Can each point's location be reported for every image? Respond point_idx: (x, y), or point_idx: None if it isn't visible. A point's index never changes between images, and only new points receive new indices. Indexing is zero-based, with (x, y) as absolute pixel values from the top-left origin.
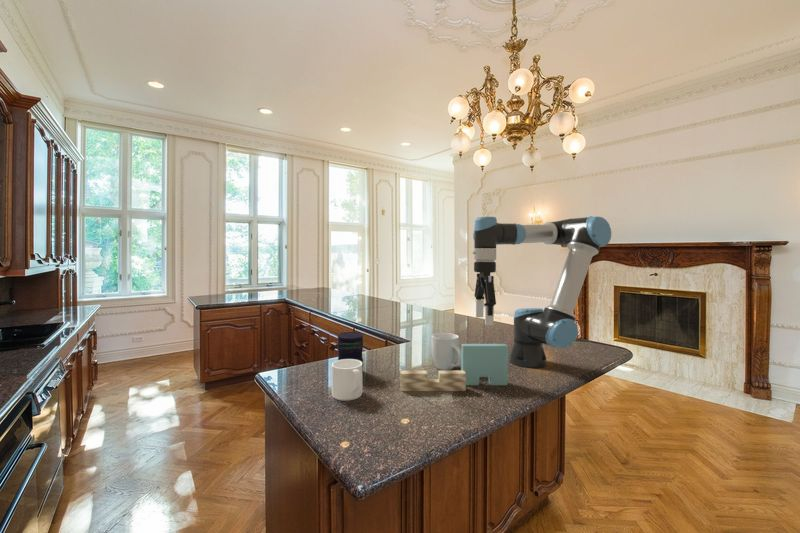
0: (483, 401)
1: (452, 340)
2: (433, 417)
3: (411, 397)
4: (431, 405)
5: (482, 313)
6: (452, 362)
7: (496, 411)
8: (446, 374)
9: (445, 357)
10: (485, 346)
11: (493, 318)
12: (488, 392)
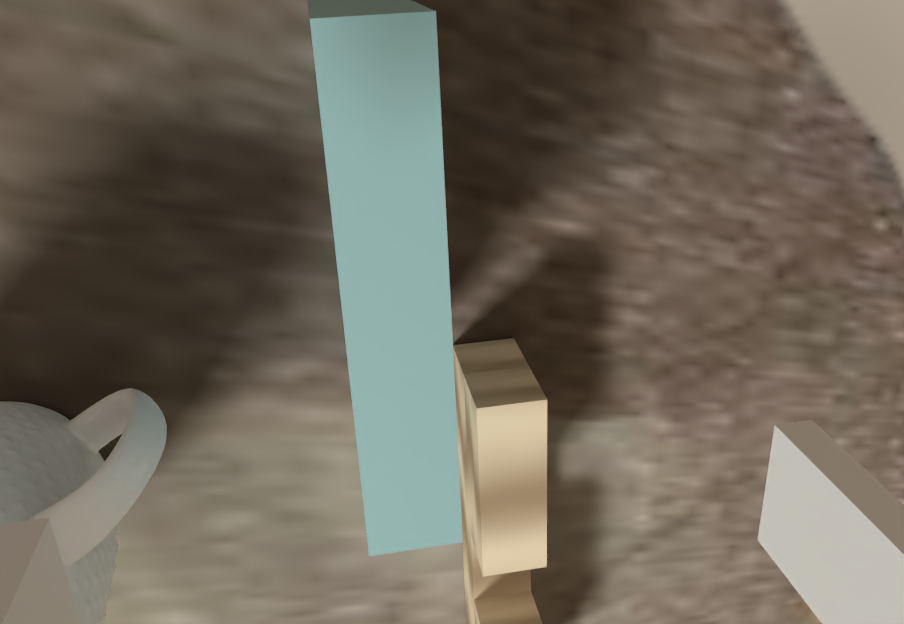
0: (680, 243)
1: None
2: None
3: (601, 613)
4: (705, 519)
5: (31, 595)
6: (85, 451)
7: (820, 187)
8: (544, 521)
9: (114, 539)
10: (450, 316)
11: (888, 492)
12: (538, 184)
